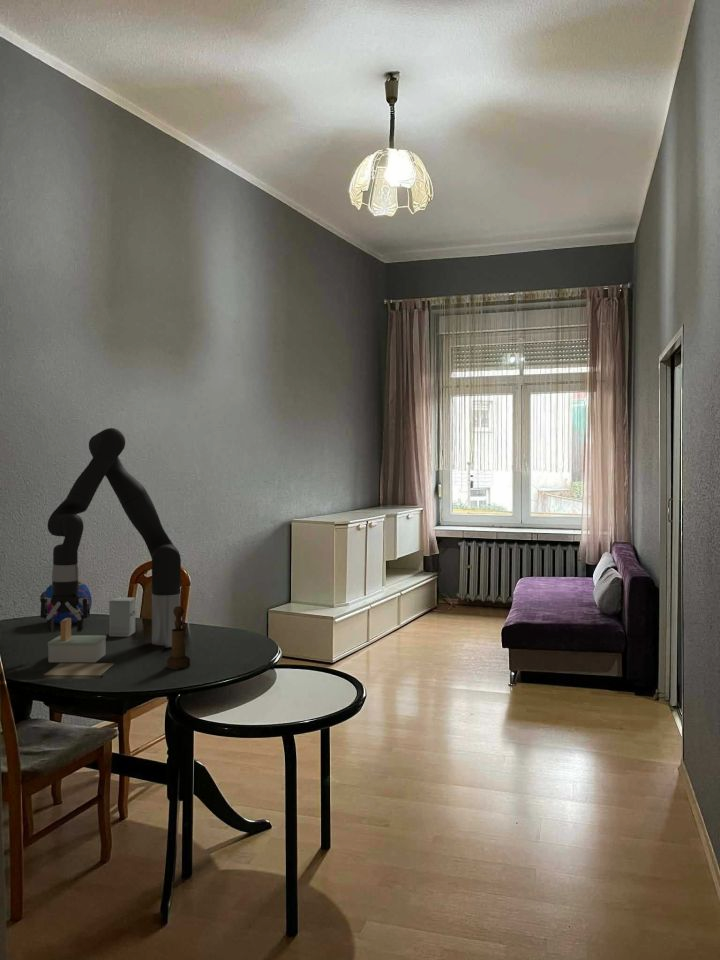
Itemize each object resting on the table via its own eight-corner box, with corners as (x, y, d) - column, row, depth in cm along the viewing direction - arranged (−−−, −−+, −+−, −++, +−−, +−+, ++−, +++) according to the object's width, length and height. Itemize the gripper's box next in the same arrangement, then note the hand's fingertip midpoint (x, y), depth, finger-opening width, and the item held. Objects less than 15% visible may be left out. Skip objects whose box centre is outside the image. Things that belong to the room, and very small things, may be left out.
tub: (105, 657, 253) (105, 638, 253) (95, 665, 243) (95, 645, 243) (60, 657, 253) (60, 638, 253) (48, 665, 243) (48, 645, 243)
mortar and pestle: (167, 670, 238) (167, 609, 238) (166, 664, 245) (166, 605, 244) (190, 668, 240) (190, 608, 240) (189, 663, 247) (189, 604, 246)
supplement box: (129, 636, 282) (129, 600, 282) (108, 636, 283) (108, 600, 282) (136, 632, 290) (136, 597, 289) (115, 632, 290) (115, 596, 290)
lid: (106, 640, 253) (106, 616, 253) (95, 647, 243) (95, 623, 243) (59, 639, 253) (59, 616, 253) (47, 647, 243) (47, 622, 243)
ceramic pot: (72, 616, 317) (72, 578, 317) (101, 622, 307) (101, 582, 307) (32, 624, 303) (31, 584, 302) (61, 630, 293) (61, 588, 292)
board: (114, 666, 242) (114, 663, 242) (100, 678, 229) (100, 675, 229) (60, 666, 242) (60, 663, 242) (43, 678, 229) (43, 675, 229)
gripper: (92, 577, 251) (92, 629, 252) (46, 576, 251) (46, 629, 252) (84, 581, 244) (84, 634, 244) (37, 580, 244) (36, 634, 244)
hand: (65, 631), depth 248 cm, fingers open, 8 cm apart
